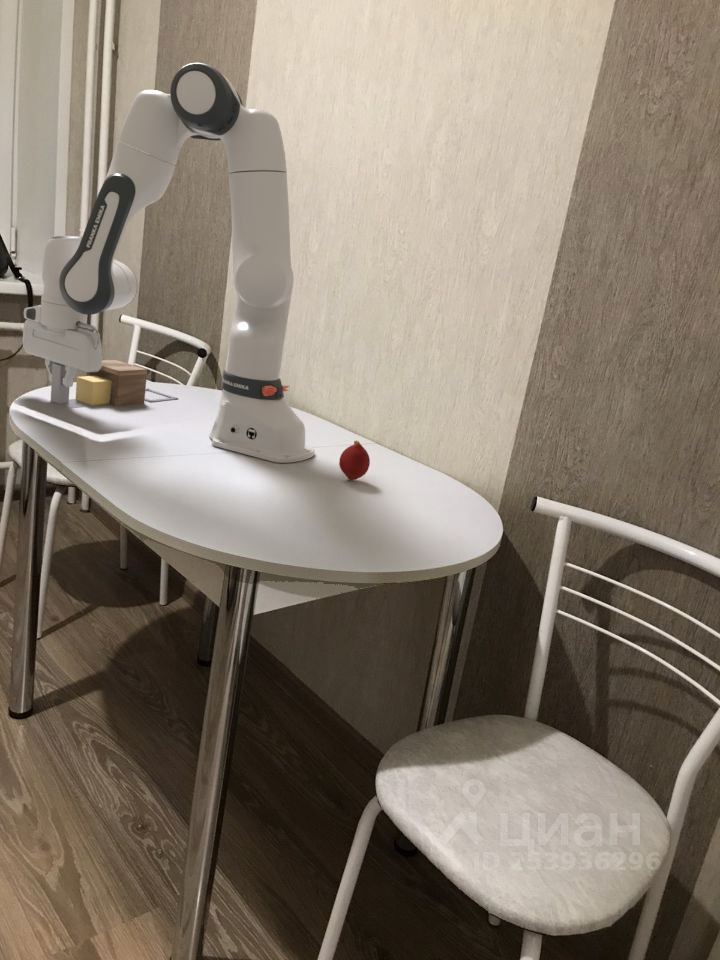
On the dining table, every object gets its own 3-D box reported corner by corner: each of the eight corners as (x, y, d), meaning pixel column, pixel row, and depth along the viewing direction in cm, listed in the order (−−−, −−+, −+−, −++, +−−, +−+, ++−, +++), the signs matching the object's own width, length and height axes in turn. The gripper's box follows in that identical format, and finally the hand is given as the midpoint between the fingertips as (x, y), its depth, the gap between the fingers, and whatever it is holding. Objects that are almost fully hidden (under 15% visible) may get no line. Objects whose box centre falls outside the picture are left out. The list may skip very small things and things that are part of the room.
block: (109, 403, 162) (111, 380, 160) (91, 405, 157) (93, 382, 156) (93, 397, 164) (95, 375, 162) (75, 399, 159) (76, 376, 158)
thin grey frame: (177, 404, 177) (178, 398, 176) (150, 407, 169) (150, 401, 169) (147, 394, 181) (147, 388, 181) (119, 397, 173) (119, 391, 173)
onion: (359, 476, 146) (366, 437, 144) (370, 486, 141) (378, 446, 139) (332, 474, 144) (339, 435, 141) (342, 484, 139) (349, 444, 136)
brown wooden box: (143, 408, 167) (147, 369, 165) (116, 411, 161) (119, 371, 158) (112, 398, 172) (115, 359, 169) (84, 400, 165) (87, 361, 162)
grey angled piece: (126, 406, 165) (130, 366, 163) (70, 412, 152) (73, 369, 150) (107, 399, 168) (110, 360, 166) (50, 405, 155) (52, 363, 152)
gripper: (112, 327, 148) (107, 394, 152) (44, 308, 157) (41, 372, 161) (86, 327, 143) (82, 396, 147) (18, 307, 152) (15, 374, 156)
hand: (60, 384), depth 154 cm, fingers closed on grey angled piece, 2 cm apart
